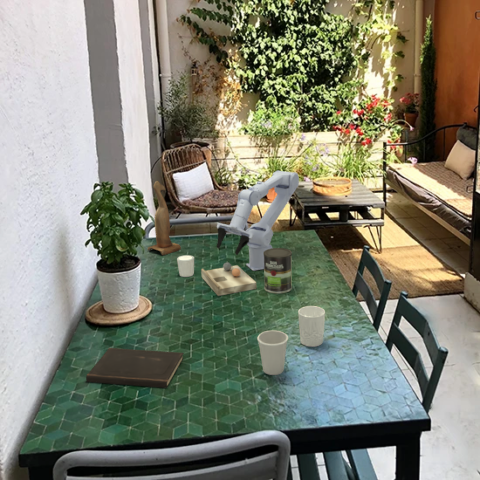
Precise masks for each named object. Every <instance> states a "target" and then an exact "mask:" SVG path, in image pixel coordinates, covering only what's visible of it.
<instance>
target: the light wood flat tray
mask: <svg viewBox="0 0 480 480" xmlns="http://www.w3.org/2000/svg"><path fill="white" fill-rule="evenodd" d="M235 268H238V269H239V270H240V275H239V276H237V277H235V276H233V274H232V270H233V269H235ZM200 273H201V278H202V279H203V280H204V282H206V284H207V285H208V286H209V287H210V289H212V291H213V292H214V293H215V294H216V295H217V296H218V297H219V296H224V295H231V294H235V293H236V294H237V293H239V292H240V293H241V292H247V291H253V290H257V281H256V280H254V278H252V277H251V276H250V275H249V274H248V273H247V272H245V271H244V270H243V269H242V268H241V267H240V266H239V265H237V264H236V265H231V269H230V270H228V271H226V270H224V268H223V267H220V268H213V269H208V270H205V269H204V268H201V272H200Z"/></svg>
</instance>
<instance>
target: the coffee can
mask: <svg viewBox="0 0 480 480" xmlns="http://www.w3.org/2000/svg"><path fill="white" fill-rule="evenodd" d="M263 254H264V269H263V271H264V272H263V274H264V275H263V276H264V279H263V281H264V290H265V291H266V292H268V293H270V294H286V293H288V292H290V291H291V290H293V285H292V283H293V281H292V280H293V279H292V277H293V276H292V271H293V270H292V268H293V266H292V265H293V264H292V258H293V257H292V255H293V252H292V251H291V250H290V249H288V248H283V247H272V248H271V249H268V250H265V251H264V253H263Z"/></svg>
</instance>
